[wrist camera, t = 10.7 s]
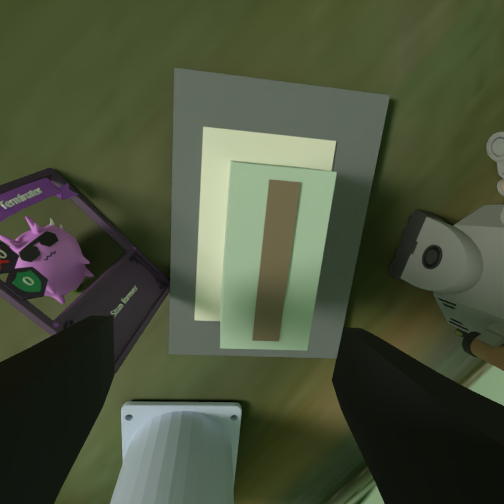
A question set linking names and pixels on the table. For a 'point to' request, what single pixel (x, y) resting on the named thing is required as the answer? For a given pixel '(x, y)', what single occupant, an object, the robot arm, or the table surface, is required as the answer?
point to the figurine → (462, 268)
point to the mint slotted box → (273, 254)
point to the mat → (268, 152)
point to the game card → (75, 268)
